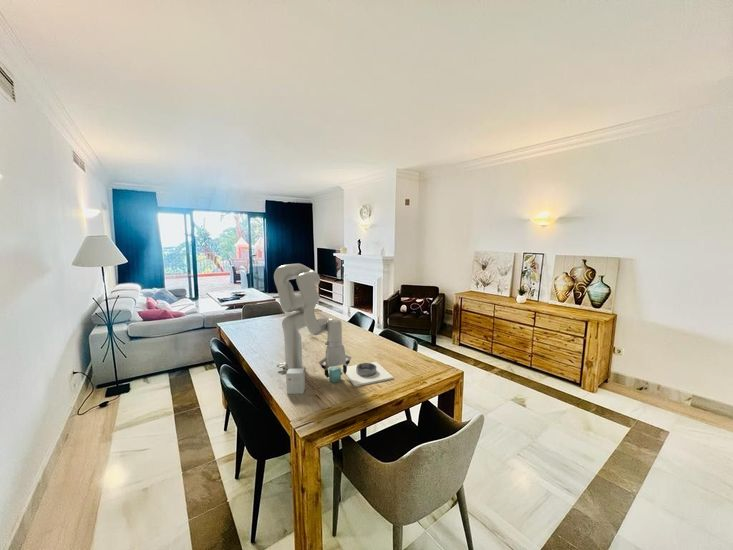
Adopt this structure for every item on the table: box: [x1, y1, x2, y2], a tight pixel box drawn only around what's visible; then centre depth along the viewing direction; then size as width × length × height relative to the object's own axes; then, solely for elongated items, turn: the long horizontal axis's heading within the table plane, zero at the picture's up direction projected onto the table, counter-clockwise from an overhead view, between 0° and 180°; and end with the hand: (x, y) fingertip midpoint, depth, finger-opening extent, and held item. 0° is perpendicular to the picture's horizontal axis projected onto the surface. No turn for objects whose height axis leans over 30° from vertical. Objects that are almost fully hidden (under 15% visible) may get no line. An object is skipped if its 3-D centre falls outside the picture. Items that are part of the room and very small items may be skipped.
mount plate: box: [340, 361, 394, 388], centre depth 165 cm, size 22×22×1 cm
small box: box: [285, 368, 306, 395], centre depth 145 cm, size 8×6×10 cm
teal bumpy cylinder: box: [328, 366, 343, 384], centre depth 157 cm, size 7×6×6 cm
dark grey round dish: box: [356, 362, 376, 377], centre depth 164 cm, size 11×11×3 cm
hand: (335, 374), depth 157 cm, fingers open, 9 cm apart
